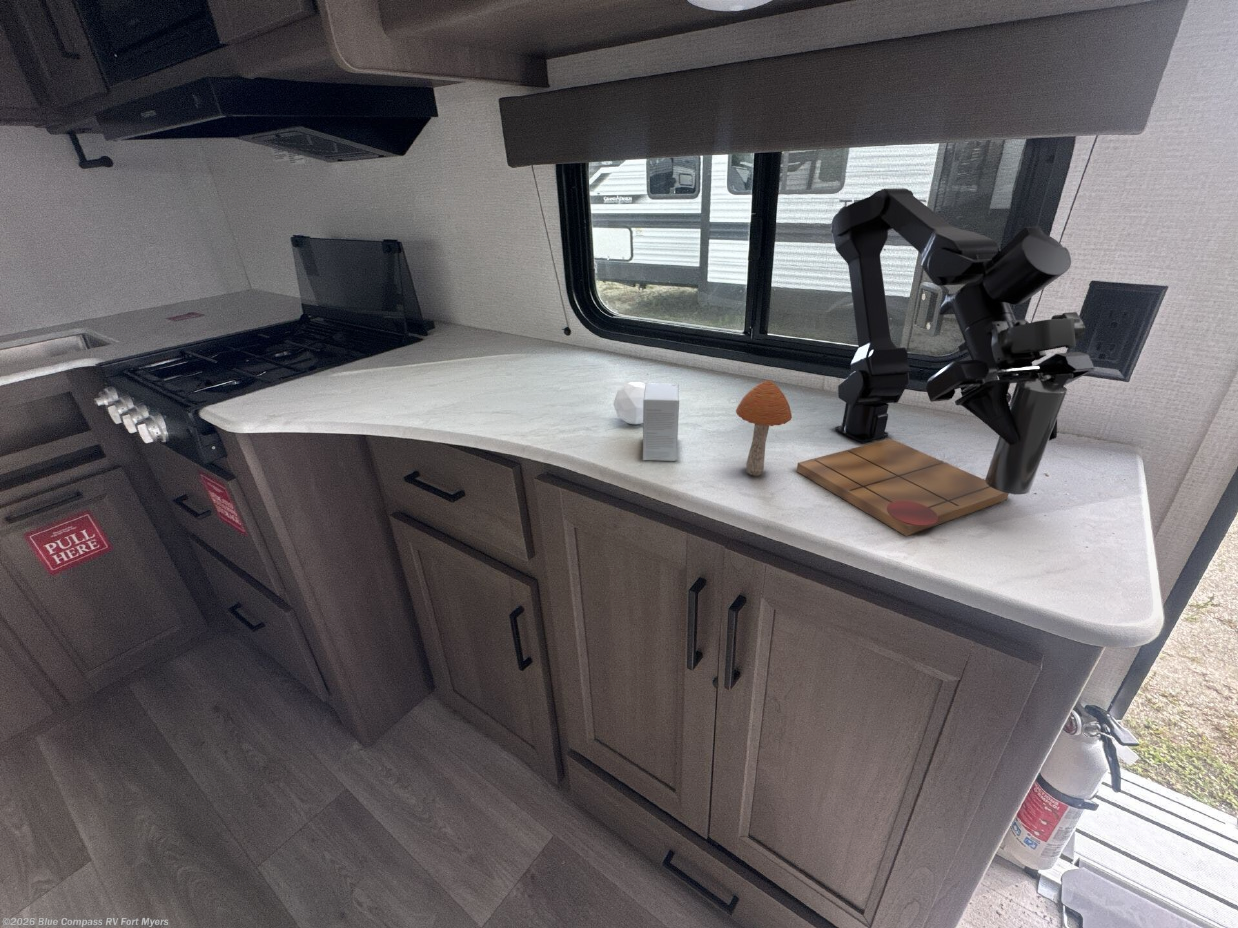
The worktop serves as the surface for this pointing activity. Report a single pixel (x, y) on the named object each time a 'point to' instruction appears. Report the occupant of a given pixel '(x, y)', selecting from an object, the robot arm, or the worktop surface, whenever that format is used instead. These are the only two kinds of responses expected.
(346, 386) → the worktop surface
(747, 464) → the mushroom
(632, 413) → the geometric ball
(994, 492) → the board
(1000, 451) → the black cylinder
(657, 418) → the small box
